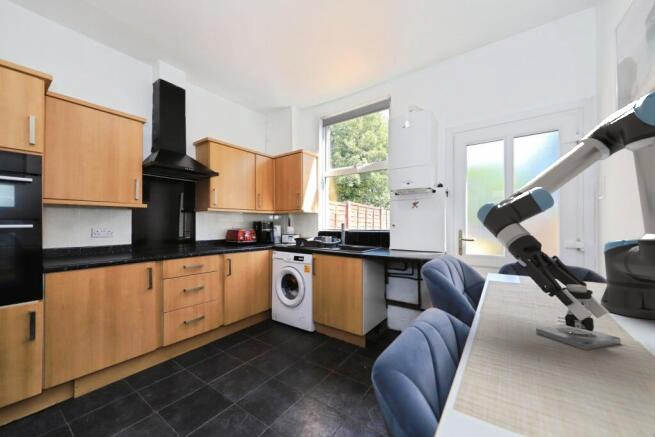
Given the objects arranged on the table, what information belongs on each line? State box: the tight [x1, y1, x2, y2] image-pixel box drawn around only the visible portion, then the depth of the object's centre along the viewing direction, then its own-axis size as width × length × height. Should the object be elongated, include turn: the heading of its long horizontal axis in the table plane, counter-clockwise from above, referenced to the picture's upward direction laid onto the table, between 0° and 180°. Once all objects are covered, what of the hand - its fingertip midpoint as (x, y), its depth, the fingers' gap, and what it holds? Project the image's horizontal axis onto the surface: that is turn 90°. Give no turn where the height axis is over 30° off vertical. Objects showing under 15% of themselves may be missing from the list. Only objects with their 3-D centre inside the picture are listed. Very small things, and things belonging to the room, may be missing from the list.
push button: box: [556, 284, 595, 331], centre depth 62 cm, size 7×5×10 cm
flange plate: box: [535, 323, 622, 351], centre depth 62 cm, size 12×10×1 cm
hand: (594, 316), depth 58 cm, fingers closed on push button, 5 cm apart
